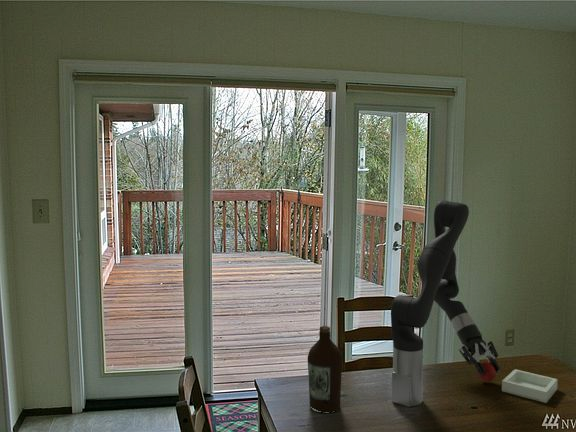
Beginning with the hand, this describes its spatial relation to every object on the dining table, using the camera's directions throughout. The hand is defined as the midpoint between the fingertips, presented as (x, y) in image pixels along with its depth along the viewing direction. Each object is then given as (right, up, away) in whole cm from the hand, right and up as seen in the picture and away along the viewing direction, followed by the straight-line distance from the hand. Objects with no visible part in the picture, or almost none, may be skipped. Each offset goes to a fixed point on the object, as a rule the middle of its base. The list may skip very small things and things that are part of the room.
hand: (490, 372), depth 167 cm
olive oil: (-58, -6, -16) cm, 60 cm away
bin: (+11, -5, -5) cm, 13 cm away
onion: (-1, -4, +2) cm, 5 cm away
